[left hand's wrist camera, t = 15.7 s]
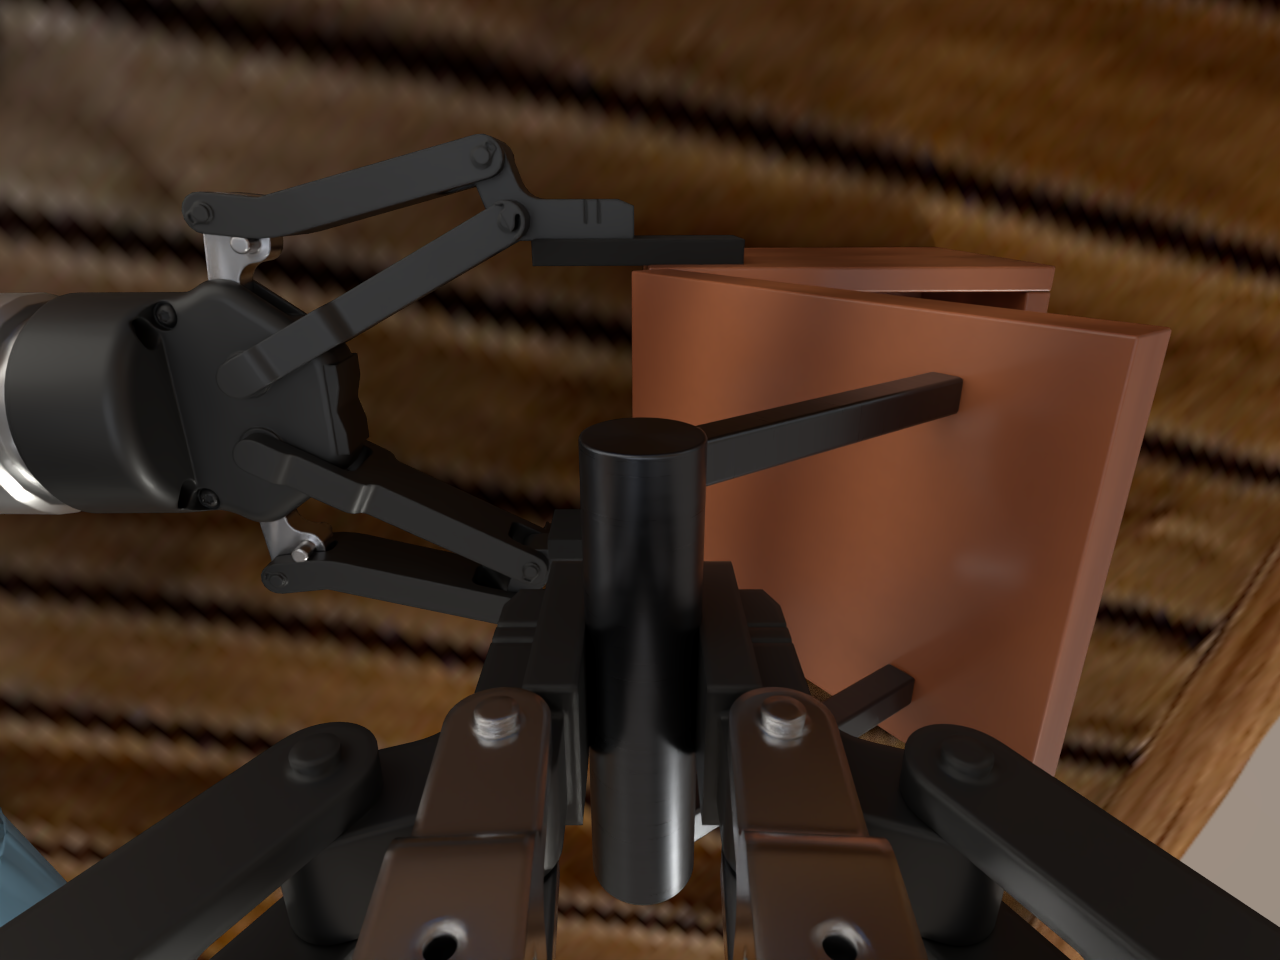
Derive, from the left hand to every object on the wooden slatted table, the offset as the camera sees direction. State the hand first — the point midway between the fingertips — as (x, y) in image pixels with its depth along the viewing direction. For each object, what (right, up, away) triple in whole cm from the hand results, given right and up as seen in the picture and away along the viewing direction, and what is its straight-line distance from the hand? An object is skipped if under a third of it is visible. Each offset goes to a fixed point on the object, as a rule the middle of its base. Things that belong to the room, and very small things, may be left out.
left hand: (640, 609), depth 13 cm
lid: (+5, +2, +5) cm, 7 cm away
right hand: (+3, +5, +13) cm, 14 cm away
